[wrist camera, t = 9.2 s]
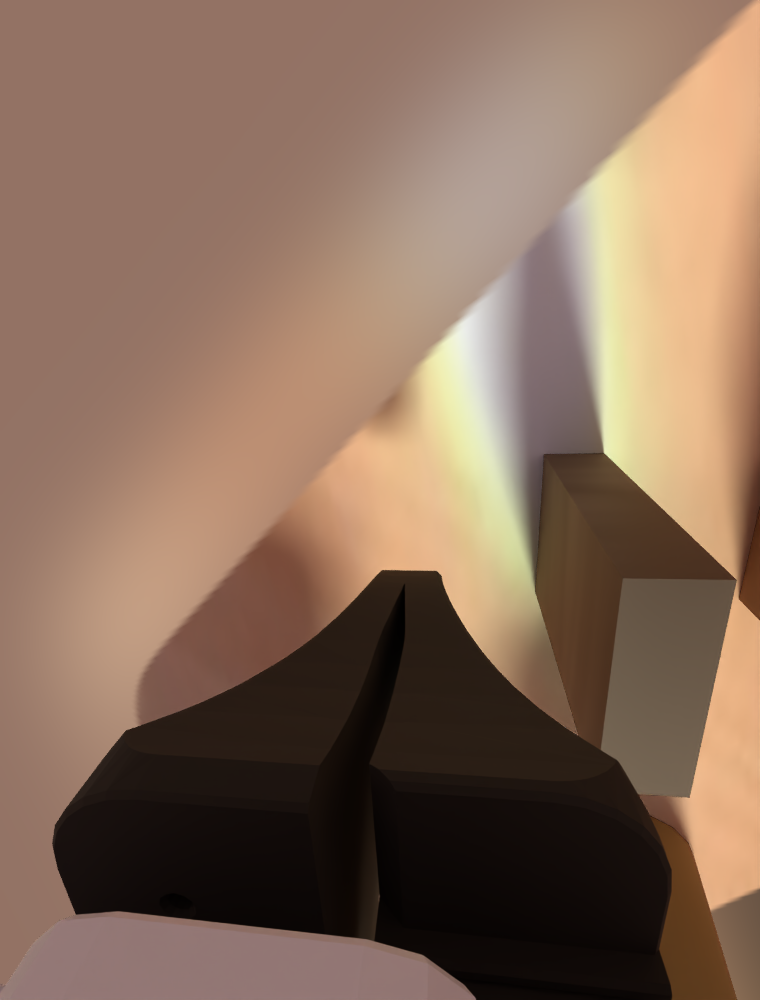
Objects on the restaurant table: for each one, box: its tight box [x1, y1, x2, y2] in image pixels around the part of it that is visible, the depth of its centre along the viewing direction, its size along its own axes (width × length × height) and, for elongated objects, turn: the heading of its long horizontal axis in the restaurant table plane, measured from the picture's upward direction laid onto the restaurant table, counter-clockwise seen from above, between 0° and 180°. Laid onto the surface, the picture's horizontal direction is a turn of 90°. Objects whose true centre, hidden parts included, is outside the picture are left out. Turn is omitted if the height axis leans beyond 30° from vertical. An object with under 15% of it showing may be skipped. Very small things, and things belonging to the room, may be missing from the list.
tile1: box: [535, 453, 737, 798], centre depth 12 cm, size 2×4×7 cm, turn 3°
